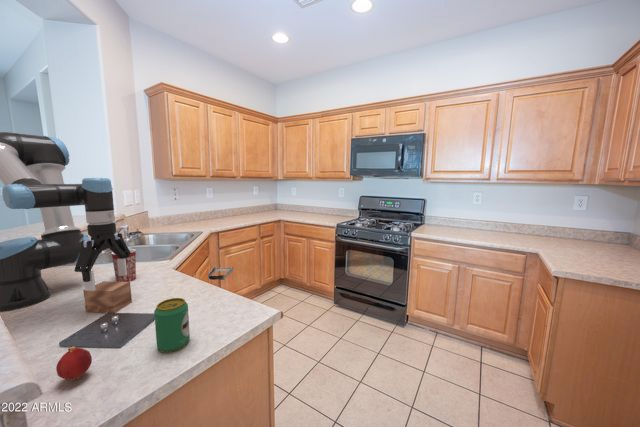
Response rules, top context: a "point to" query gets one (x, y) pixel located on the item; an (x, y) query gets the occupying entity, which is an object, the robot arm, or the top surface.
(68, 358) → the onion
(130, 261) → the red patterned paper cup
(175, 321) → the beverage can
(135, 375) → the top surface
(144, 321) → the boss plate
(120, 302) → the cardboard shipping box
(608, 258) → the top surface
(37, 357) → the top surface
